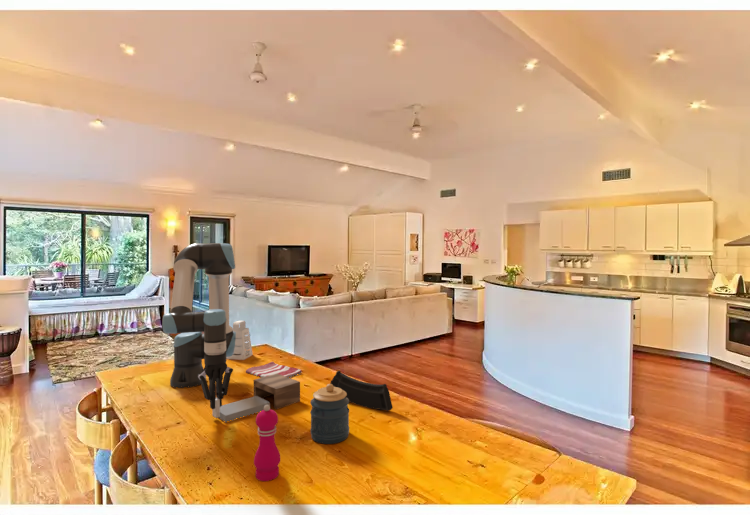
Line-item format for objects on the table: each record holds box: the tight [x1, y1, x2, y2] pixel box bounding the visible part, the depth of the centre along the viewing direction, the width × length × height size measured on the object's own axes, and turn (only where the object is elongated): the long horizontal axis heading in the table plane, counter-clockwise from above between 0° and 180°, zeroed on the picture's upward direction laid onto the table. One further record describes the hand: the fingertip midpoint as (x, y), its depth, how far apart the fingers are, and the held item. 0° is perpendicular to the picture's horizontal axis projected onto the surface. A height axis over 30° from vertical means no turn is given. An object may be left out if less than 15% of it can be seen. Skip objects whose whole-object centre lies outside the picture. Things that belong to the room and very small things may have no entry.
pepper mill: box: [253, 405, 281, 482], centre depth 119 cm, size 7×7×20 cm
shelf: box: [253, 374, 301, 410], centre depth 175 cm, size 16×12×8 cm
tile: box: [218, 395, 271, 423], centre depth 163 cm, size 10×18×3 cm, turn 134°
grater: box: [226, 320, 254, 361], centre depth 239 cm, size 10×10×20 cm
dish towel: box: [245, 361, 303, 378], centre depth 211 cm, size 17×23×3 cm
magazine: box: [329, 370, 394, 412], centre depth 171 cm, size 17×3×30 cm
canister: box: [310, 383, 350, 445], centre depth 143 cm, size 13×13×18 cm
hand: (216, 416), depth 155 cm, fingers closed
